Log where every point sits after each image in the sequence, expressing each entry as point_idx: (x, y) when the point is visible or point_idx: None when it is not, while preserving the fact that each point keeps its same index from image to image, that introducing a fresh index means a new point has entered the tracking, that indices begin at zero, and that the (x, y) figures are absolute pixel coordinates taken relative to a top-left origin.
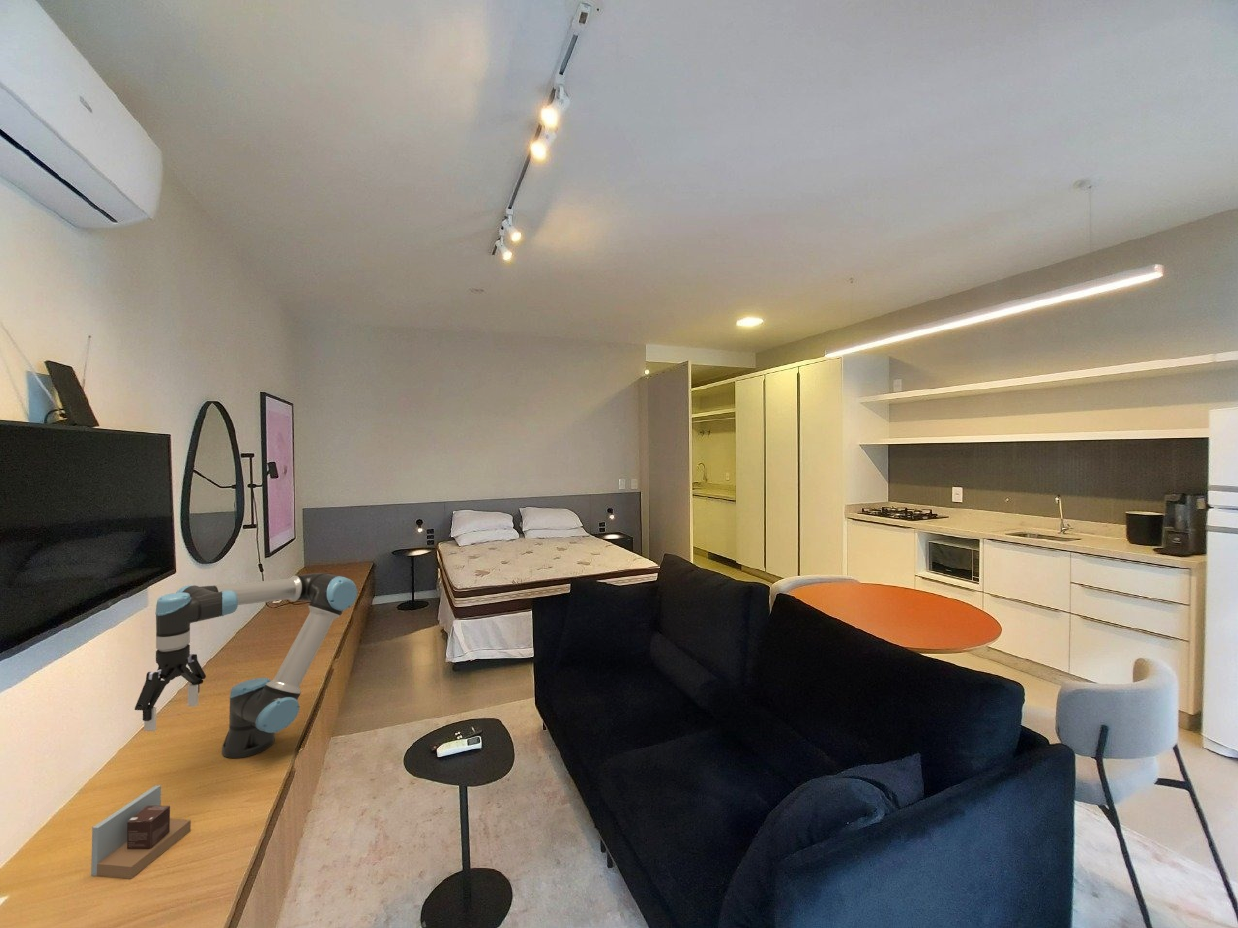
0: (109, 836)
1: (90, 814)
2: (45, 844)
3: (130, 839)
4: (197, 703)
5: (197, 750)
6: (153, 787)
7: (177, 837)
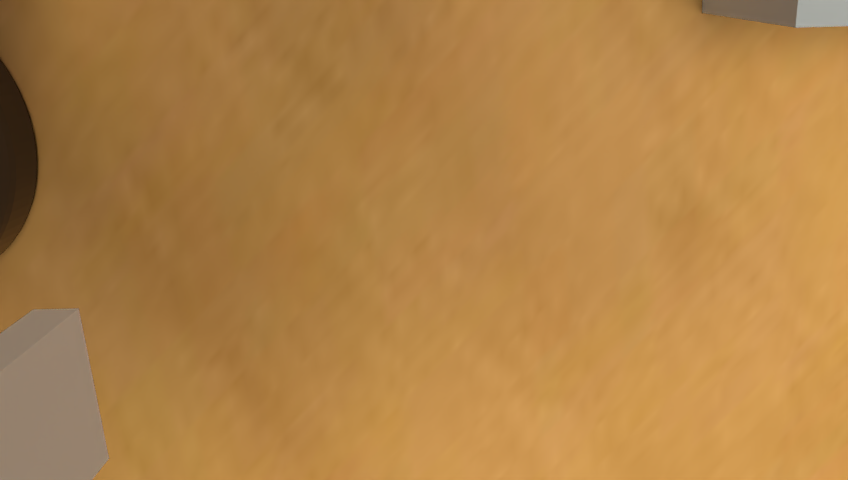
0: None
1: (614, 463)
2: (838, 460)
3: None
4: (23, 326)
5: None
6: (832, 16)
7: None
